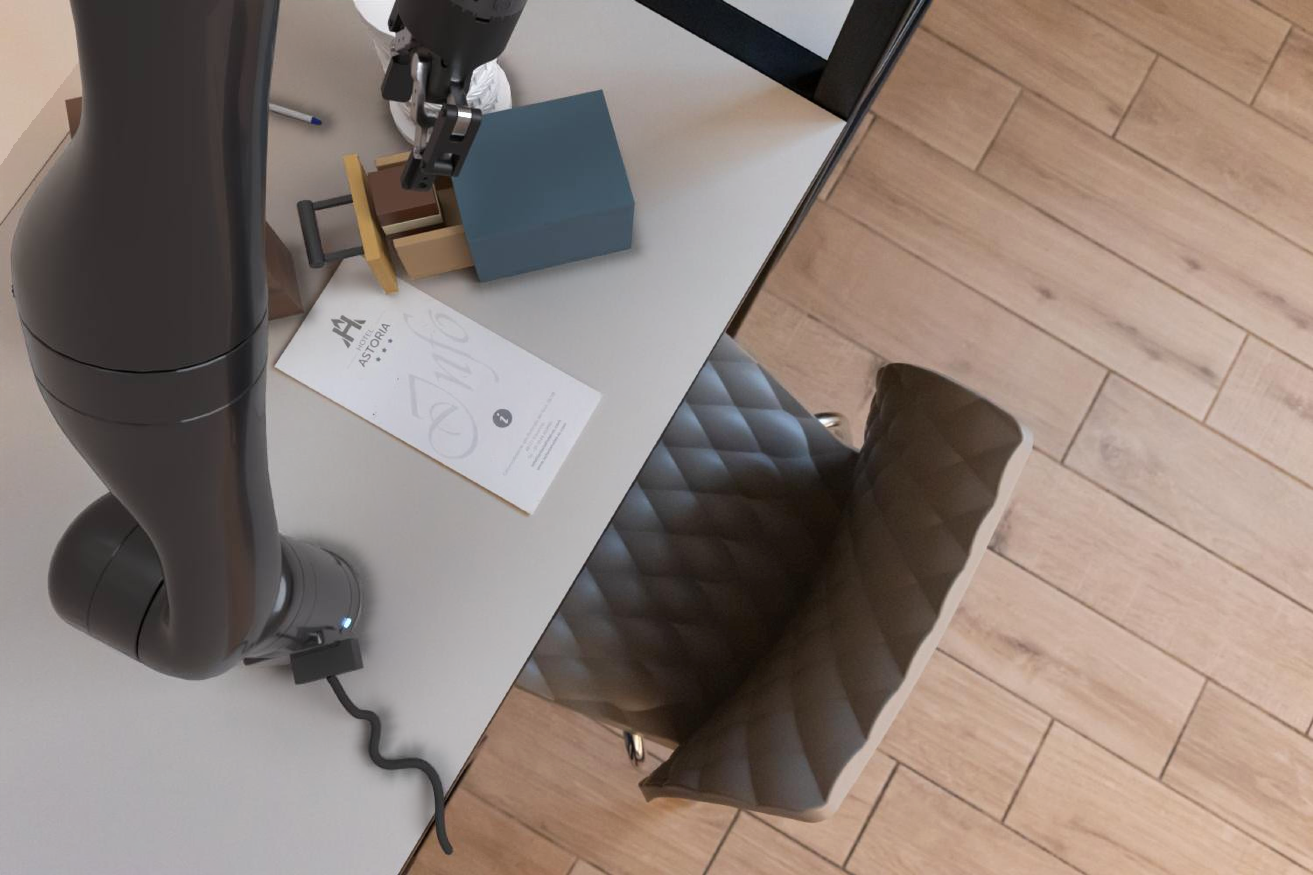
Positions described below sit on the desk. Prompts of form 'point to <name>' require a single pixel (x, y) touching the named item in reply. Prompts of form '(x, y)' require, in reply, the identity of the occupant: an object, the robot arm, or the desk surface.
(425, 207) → the chocolate carton
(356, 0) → the decorative container
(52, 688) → the desk surface
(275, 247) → the riser
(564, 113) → the cabinet
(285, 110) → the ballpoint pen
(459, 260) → the drawer
